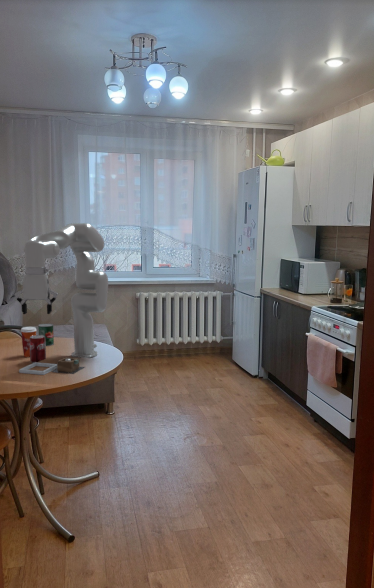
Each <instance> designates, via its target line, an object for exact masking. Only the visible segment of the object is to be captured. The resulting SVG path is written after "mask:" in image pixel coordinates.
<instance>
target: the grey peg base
mask: <svg viewBox="0 0 374 588" xmlns="http://www.w3.org/2000/svg"><path fill="white" fill-rule="evenodd" d="M70 358H71V357H69V358H67V359H65V361H71V359H70ZM83 369H86V366H79V368H78V369H76V370H75V371H73V372H63V371H57V368H56V369H54V370H52V371H50V373H57V374H58V373H59V374H67V375H74V374H76V373H78V372H80V371H81V370H83Z"/></svg>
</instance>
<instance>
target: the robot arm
mask: <svg viewBox="0 0 374 588" xmlns="http://www.w3.org/2000/svg"><path fill="white" fill-rule="evenodd" d="M104 246H105V241H104V238H103V236H102V235H101V234H100V233H99V231H98V230H97V229H96V228H95V227H94V226H93V225H91V224H90V223H87V222H84V223H82V222H81V223H80V222H79V223H76V222H75V223H74V222H73V223H69V224H66V225H64V226H62V227H61V228H59V229H57V230H55V231H51V232H48V233H47V232H46V233H44V234H39V235H36V236H34V237H31V238H30V239H28V240H27V241H26V242H25V243H24V247H23V250H24V251H23V252H24V257H25V258H24V262H25V264H24V265H25V274H24V275H23V281H22V289H20V290H19V291H17V292H15V293H14V294H13V295H14V297H15V298H16V301H17V302H18V303H19V304H20V305H21V312H22V314H23V315H26V314H27V313H28V305H27V301H45V302H46V303H47V304H46V313H47V315H50V314H51V313H52V312H53V305H52V304H53V303H54V301H56V299H57V297H58V296H59V293H58V292H57V291H55V290H53V289H50V280H49V275H48V274H47V273H49V272H50V269H49V268H47V267H46V259H51V260H52V259H54V258H56V257H58V256H59V253H60V250H63V249H67V248H68V247H70V249H71V251H72V252H73V254H74V256H75V258H76V274H75V285H76V288H77V289H78V290H83V291H85V290H86V291H95V292H77V293H74V294H73V295H72V296H71V300H70V304H71V309H72V314H73V336H74V338H73V340H74V341H73V342H74V343H73V344H74V346H73V347H74V351H73V352H72V353H71V358H85V359H89V358H93V357H96V356H97V355H98V352H97V351H96V350H95V349H96V348H97V347H98V345H97V343H95V341H94V340H95V338H94V335H95V333H94V329H95V328H94V318H93V316H92V315H91V313H104V312H105V311H106V309H107V304H108V294H109V293H108V291H109V279H108V275H107V273H106V272H105V271H103V270H101V271H100V270H95V259H94V257H93V256H92V254H91V253H99V252H102V250H103V249H104V248H105V247H104ZM21 294H22V297H20V295H21ZM51 295H53V296H52V297H51ZM50 297H51V298H50Z"/></svg>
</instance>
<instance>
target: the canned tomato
mask: <svg viewBox="0 0 374 588" xmlns="http://www.w3.org/2000/svg"><path fill="white" fill-rule="evenodd" d="M37 329H38V335H43V336H45V342H46V347H50V346H53V345H54V344H55V341H54V340H55V339H54V323H39V324H38V328H37Z"/></svg>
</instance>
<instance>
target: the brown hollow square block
mask: <svg viewBox="0 0 374 588" xmlns="http://www.w3.org/2000/svg"><path fill="white" fill-rule="evenodd" d="M67 358H70V359H71V361H65V359H67ZM56 364H57V368H56V369H57V371H63V372H73V371H75V370H76V369H78V368H79V367H80V357H67V356H66V357H63V358H61V359H59V360H57V362H56Z"/></svg>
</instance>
